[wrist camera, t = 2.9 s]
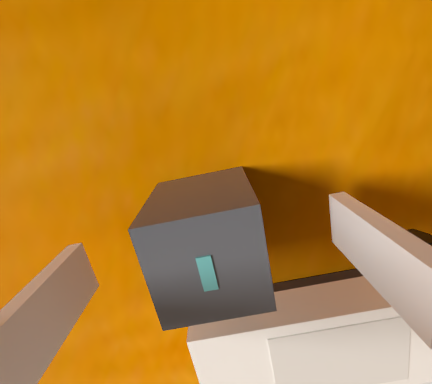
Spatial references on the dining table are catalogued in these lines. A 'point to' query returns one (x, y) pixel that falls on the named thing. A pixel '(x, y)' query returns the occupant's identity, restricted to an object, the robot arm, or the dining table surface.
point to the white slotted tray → (314, 339)
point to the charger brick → (204, 250)
